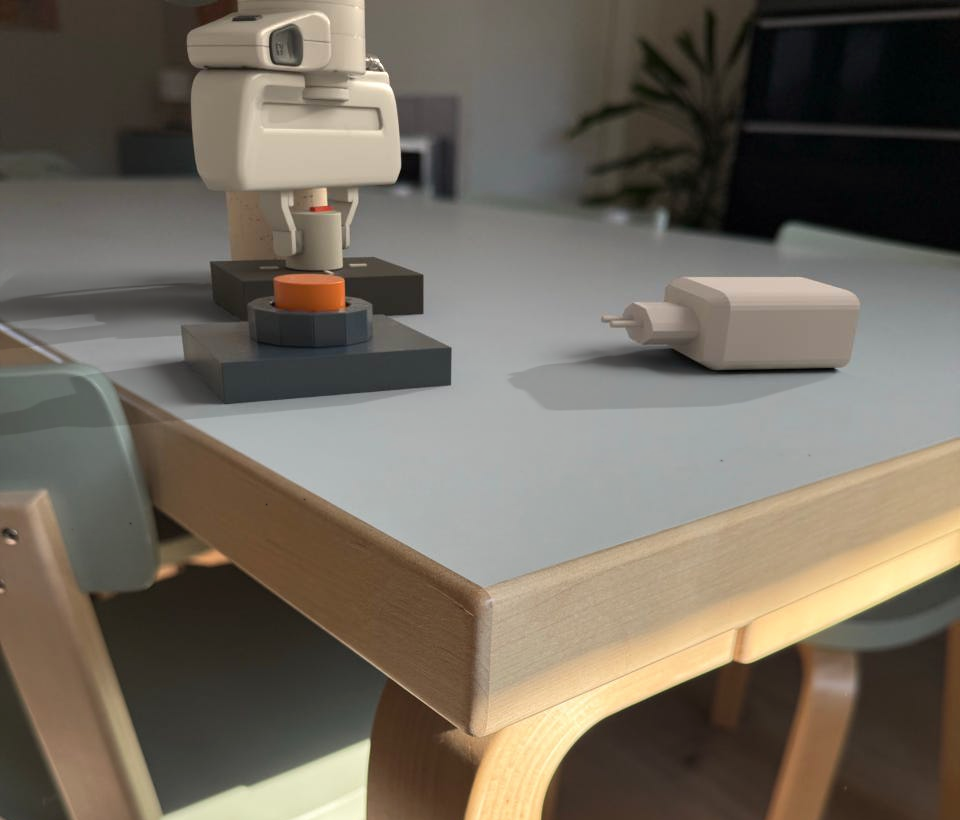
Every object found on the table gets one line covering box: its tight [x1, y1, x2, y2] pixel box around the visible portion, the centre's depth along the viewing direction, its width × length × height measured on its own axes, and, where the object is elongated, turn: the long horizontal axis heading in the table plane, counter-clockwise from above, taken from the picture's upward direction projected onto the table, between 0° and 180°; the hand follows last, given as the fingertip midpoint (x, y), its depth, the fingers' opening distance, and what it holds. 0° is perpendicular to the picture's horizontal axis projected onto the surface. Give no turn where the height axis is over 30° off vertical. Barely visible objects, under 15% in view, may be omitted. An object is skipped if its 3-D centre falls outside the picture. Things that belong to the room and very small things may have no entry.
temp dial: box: [286, 205, 343, 271], centre depth 76 cm, size 4×4×4 cm
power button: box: [273, 274, 345, 311], centre depth 56 cm, size 4×4×2 cm
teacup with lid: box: [225, 188, 328, 261], centre depth 87 cm, size 12×9×12 cm
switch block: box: [180, 296, 453, 405], centre depth 58 cm, size 13×11×4 cm
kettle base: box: [209, 256, 425, 322], centre depth 78 cm, size 14×11×3 cm
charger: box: [600, 276, 861, 371], centre depth 64 cm, size 5×9×15 cm
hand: (313, 252), depth 77 cm, fingers closed on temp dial, 4 cm apart
